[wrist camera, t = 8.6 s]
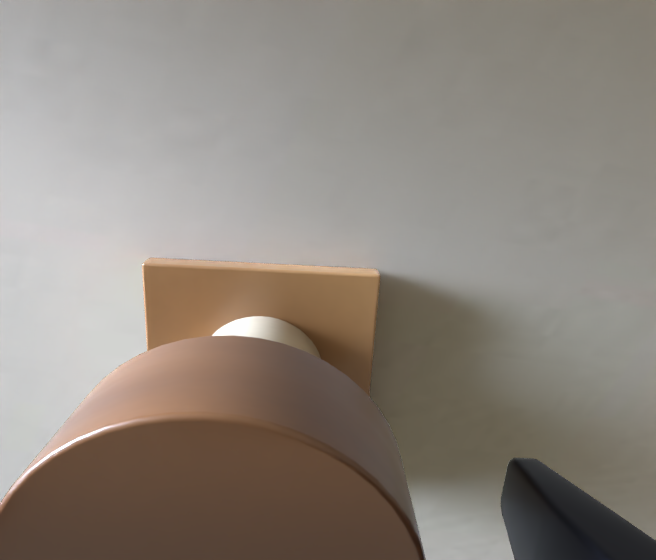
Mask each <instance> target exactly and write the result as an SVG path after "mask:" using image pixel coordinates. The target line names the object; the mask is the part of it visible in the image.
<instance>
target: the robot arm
mask: <svg viewBox="0 0 656 560" xmlns="http://www.w3.org/2000/svg"><path fill="white" fill-rule="evenodd" d="M501 510H502V515H503V519H504V522H505V526H506V530H507V533H508V537H509V540H510V544H511V548H512V551H513V555H514V558H515V560H656V540H654V539H653V538H651V537H650V536H648V535H647V534H645V533H644V532H642V531H641V530H639V529H638V528H637V527H635V526H634V525H632V524H631V523H629V522H628V521H626V520H625V519H623V518H622V517H620V516H619V515H618V514H616V513H615V512H613V511H612V510H610V509H609V508H607V507H606V506H604V505H603V504H601V503H600V502H599V501H597V500H596V499H594V498H593V497H591V496H590V495H588V494H587V493H585V492H584V491H582V490H581V489H580V488H578V487H577V486H575V485H574V484H572V483H571V482H569V481H568V480H566V479H565V478H563V477H562V476H561V475H559V474H558V473H556V472H555V471H553V470H552V469H550V468H549V467H547V466H546V465H544V464H543V463H542V462H540V461H538V460H537V459H531V458H513V459H511V460H510V462H509V463H508V466H507V471H506V476H505V481H504V486H503V491H502V496H501Z"/></svg>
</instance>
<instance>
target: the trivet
mask: <svg viewBox="0 0 656 560" xmlns="http://www.w3.org/2000/svg"><path fill="white" fill-rule="evenodd" d="M142 273H143V289H144V306H145V322H146V338H147V351H149V350H151V349H154V348H156V347H159V346H161V345H165V344H169V343H172V342H176V341H180V340H184V339H190V338H197V337H204V336H212V335H213V334H214V333H215V332H216V331H217V330H219V329H220V328H221V327H223V326H224V325H226V324H228V323H230V322H232V321H235V320H238V319H241V318H245V317H253V316H264V317H272V318H276V319H280V320H282V321H285V322H288V323H290V324H292V325H294V326H295V327H297V328H298V329H300V330H301V331H302V332H303V333H304V334H306V335H307V336H308V337H309V339H310V340H311V341H312V342H313V344H314V345H315V347H316V348H317V350H318V352H319V354H320V357H321V359H322V360H324V361H326V362H328V363H329V364H331V365H332V366H334V367H335V368H337V369H338V370H339V371H341V372H342V373H344V374H345V375H347V376H348V377H349V378H350V379H351V380H353V381H354V382H355V383H356V384H357V385H358V386H359V387H361V388H362V389H363V390H364V391H365V392H366V394H367V395H368V396H369V395H370V384H371V373H372V363H373V352H374V341H375V331H376V320H377V309H378V299H379V288H380V274H379V272H378V270H377V269H366V268H346V267H326V266H306V265H286V264H265V263H245V262H225V261H205V260H185V259H164V258H149V259H147V260H146V261H145V262H144V263H143V264H142Z"/></svg>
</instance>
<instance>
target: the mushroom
mask: <svg viewBox="0 0 656 560" xmlns="http://www.w3.org/2000/svg"><path fill="white" fill-rule="evenodd" d="M0 560H426V558H425V554H424V550H423V546H422V542H421V538H420V534H419V530H418V525H417V521H416V517H415V513H414V509H413V505H412V501H411V496H410V492H409V488H408V484H407V480H406V476H405V472H404V467H403V463H402V459H401V456H400V452H399V448H398V445H397V441H396V439H395V437H394V435H393V432H392V430H391V428H390V426H389V424H388V422H387V420H386V419H385V417H384V416H383V414H382V413H381V411H380V410H379V408H378V406H377V405H376V404H375V403H374V402H373V401H372V399H371V398H370V397H369V396H368V395H367V394H366V392H365V391H364V390H363V389H362V388H361V387H359V386H358V385H357V384H356V383H355V382H354V381H353V380H351V379H350V378H349V377H348V376H347V375H345V374H344V373H342V372H341V371H339V370H338V369H337V368H335V367H334V366H332V365H331V364H329V363H328V362H326V361H324V360H322V359H321V357H320V354H319V352H318V350H317V348H316V347H315V345H314V344H313V342H312V341H311V340H310V339H309V337H308V336H307V335H306V334H304V333H303V332H302V331H301V330H300V329H298V328H297V327H295V326H294V325H292V324H290V323H288V322H285V321H282V320H280V319H276V318H272V317H264V316H253V317H245V318H241V319H238V320H235V321H232V322H230V323H228V324H226V325H224V326H223V327H221V328H220V329H219V330H217V331H216V332H215V333H214V334H213V335H212V336H204V337H197V338H190V339H184V340H180V341H176V342H172V343H169V344H165V345H161V346H159V347H156V348H154V349H151V350H149V351H147V352H144V353H142V354H139V355H138V356H136V357H134V358H132V359H131V360H129V361H127V362H126V363H124V364H122V365H120V366H119V367H118V368H116V369H115V370H114V371H113V372H111V373H110V374H109V375H107V376H106V377H105V378H104V379H102V381H101V382H100V383H99V384H98V385H97V386H96V387H95V388H94V389H93V390H92V391H91V392H90V393H89V394H88V395H87V397H86V398H85V399H84V400H83V401H82V403H81V404H80V405H79V406H78V407H77V409H76V410H75V411H74V412H73V413H72V415H71V416H70V417H69V418H68V419H67V421H66V422H65V423H64V424H63V425H62V427H61V428H60V429H59V430H58V431H57V433H56V434H55V435H54V436H53V437H52V439H51V440H50V441H49V442H48V443H47V444H46V446H45V447H44V448H43V449H42V450H41V452H40V453H39V454H38V455H37V456H36V458H35V459H34V460H33V461H32V462H31V464H30V465H29V466H28V467H27V468H26V470H25V471H24V472H23V473H22V474H21V476H20V477H19V478H18V479H17V480H16V482H15V483H14V484H13V485H12V486H11V488H10V489H9V491H8V492H7V494H6V495H5V497H4V498H3V500H2V501H1V503H0Z"/></svg>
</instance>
